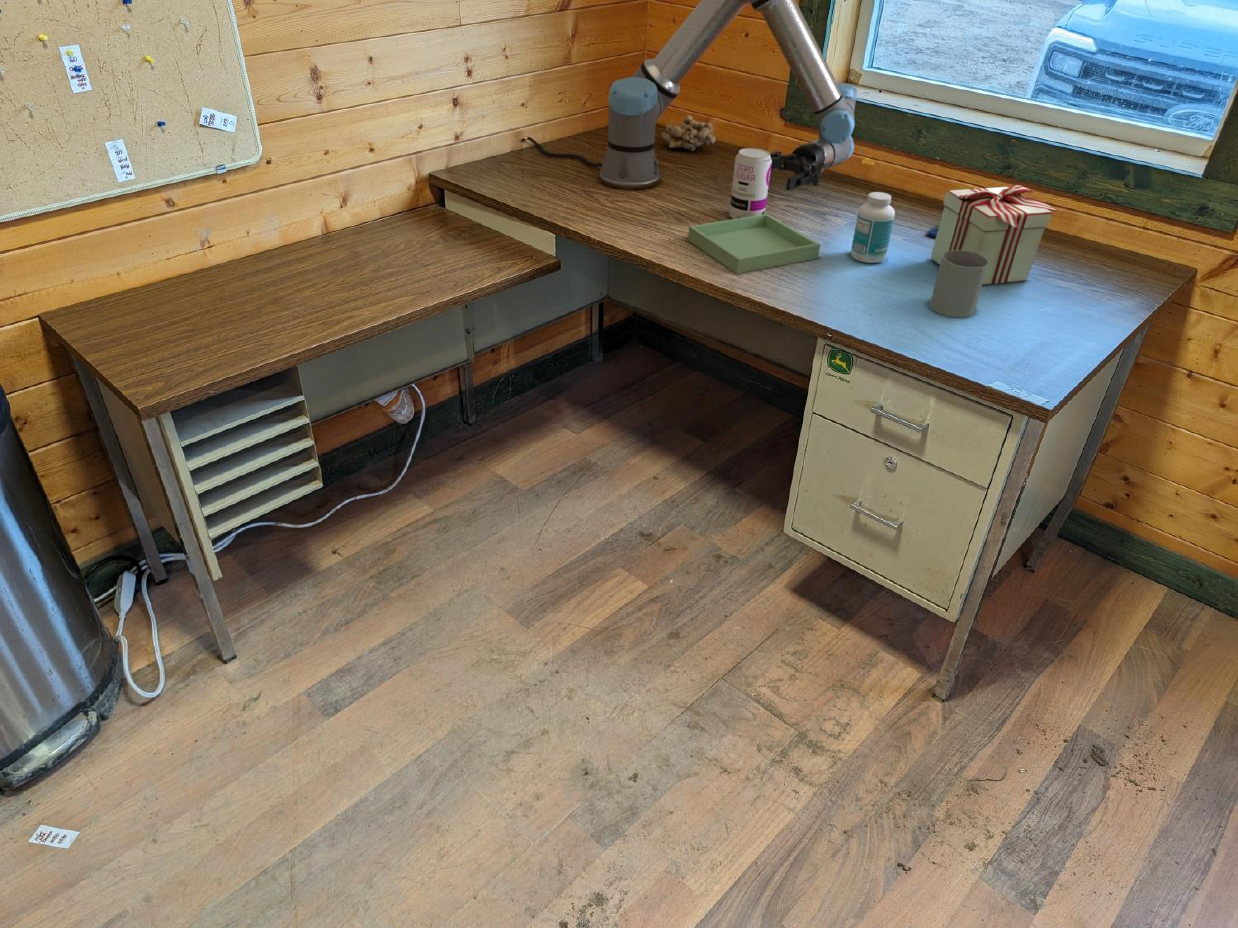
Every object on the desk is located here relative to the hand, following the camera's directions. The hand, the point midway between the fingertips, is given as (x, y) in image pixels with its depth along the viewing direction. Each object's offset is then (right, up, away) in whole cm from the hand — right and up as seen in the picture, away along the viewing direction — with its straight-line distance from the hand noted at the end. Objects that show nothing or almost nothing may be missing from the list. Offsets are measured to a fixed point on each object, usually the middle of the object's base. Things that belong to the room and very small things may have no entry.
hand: (763, 177), depth 204 cm
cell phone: (+44, -13, -1) cm, 46 cm away
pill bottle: (+20, -22, -15) cm, 33 cm away
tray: (-5, -20, -13) cm, 24 cm away
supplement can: (-4, -9, +2) cm, 10 cm away
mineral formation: (-13, +23, +45) cm, 52 cm away
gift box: (+43, -26, -19) cm, 54 cm away
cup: (+31, -36, -34) cm, 59 cm away
